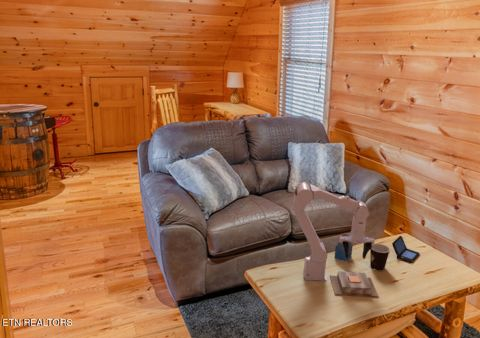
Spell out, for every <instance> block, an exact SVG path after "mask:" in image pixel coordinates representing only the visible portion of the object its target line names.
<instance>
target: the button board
mask: <svg viewBox="0 0 480 338" xmlns="http://www.w3.org/2000/svg"><path fill="white" fill-rule="evenodd" d="M348 276H358V277H359V279H360V283H349V280H348ZM329 278H330V282H331V286H332V288H333V289H332V290H333V293H334V296H346V297H363V298H379V297H380V295H379V294H378V292H377V289H376V287H375V285H374V283H373V280H372V278H371V277H368V276H367V274H366V272H357V271H355V272H354V271H337V275H329Z"/></svg>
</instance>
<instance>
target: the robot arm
mask: <svg viewBox="0 0 480 338" xmlns="http://www.w3.org/2000/svg"><path fill="white" fill-rule="evenodd" d="M293 193H294V194H293V198H292V204H291V207H292V211H293V213H294V215H295V218H296V219H297V222H298V223H299V224H298V225H299V226H300V227H301V229H302V231H303V234H304V236H305V238H306V240H307V242H308V244H309V247H310V250H311V254H310V255H309V256H304V263H303V275H304V279H305V280H307V281H322V282H326V281H327V276H326V268H327V259H328V253H327V251H326V246H325V243H324V242H323V240H321V239H320V237H319V236H318V234H317V232H316V230H315V228H314V226H313V224H312V222H311V219H310V217H309V216H308V213H307V212H306V209H305V208H306V207H307V205H309V203H310V202H312V201H313V202H315V201H318V200H323V201H326V202H328V203H332V204H335V205H336V207H337V208H338V209H340V210H343V211H344V212H347V213H350V214H353V215H352V221H351V222H352V223H351V229H350V235H349V236H345V237H342V236H339V242H340V243H343V246H344V251H345V257H346V258H347V257H348V249H349V245H348V244H349V243H348V242H351V243H356V245H361V244H363V248H362V255H361V257H362V258H363V260H365V259H366V257H367V255H368V253H369V252H370V249H371V248H372V245H371V244H375V239H374V237H368V236H365V234H366V227H367V218H368V217H369V216H370V210H369V208H368V206H367V205H366V203H365V201H364V202H363V201H362V200H358V199H357V200H356V199H353V198H351V197H350V196H349V195H348V194H347V195H341V196H338V195H335V194H333V193H331V192H329V191H327V190H325V189H322V188H321V187H319V186H316V185H314V184H310V183H308V182H306V181H303V182H300V183H298V184H297V186H296V187H295V188H294V191H293Z"/></svg>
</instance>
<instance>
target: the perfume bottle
mask: <svg viewBox="0 0 480 338" xmlns="http://www.w3.org/2000/svg"><path fill="white" fill-rule="evenodd" d="M345 236H350V235H349V234H346V233H342V234H341V237H345ZM348 243H349V244H348V245H349V249H348V257H347V258H346V257H345V251H344V246H343V243H340V241H339V242H338V243H337V244H336V246H335V249H334V259H336V260H339V261H342V262H345V263H347V262H348V261H349V260H350V259H351V258H352V253H353V244H352V242H348Z"/></svg>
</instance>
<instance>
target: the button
mask: <svg viewBox="0 0 480 338" xmlns="http://www.w3.org/2000/svg"><path fill="white" fill-rule="evenodd" d="M348 280H349V283H360V279H359V277H358V276H348Z"/></svg>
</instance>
